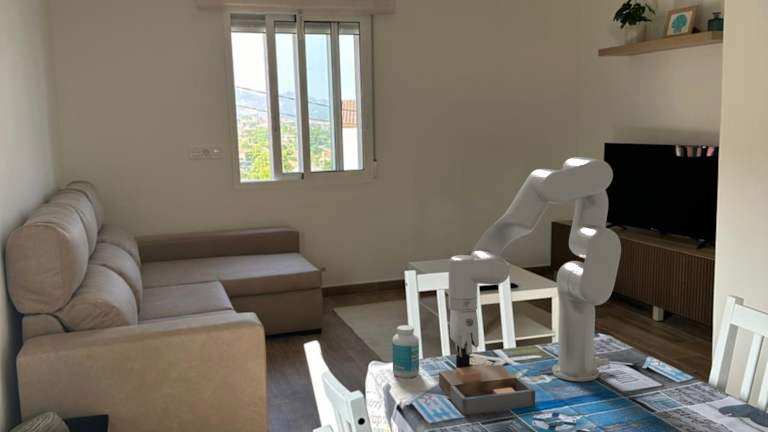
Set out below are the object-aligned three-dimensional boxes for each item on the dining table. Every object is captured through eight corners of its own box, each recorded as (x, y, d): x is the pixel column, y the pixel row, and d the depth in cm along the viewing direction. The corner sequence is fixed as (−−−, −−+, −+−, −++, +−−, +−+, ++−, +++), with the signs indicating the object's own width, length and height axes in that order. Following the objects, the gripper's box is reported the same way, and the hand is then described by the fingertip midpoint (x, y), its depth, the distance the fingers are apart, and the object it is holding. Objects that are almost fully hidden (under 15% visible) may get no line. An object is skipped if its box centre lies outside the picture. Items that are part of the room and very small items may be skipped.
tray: (519, 392, 181) (519, 377, 180) (535, 405, 172) (535, 390, 172) (450, 400, 176) (450, 385, 175) (463, 415, 167) (463, 399, 167)
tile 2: (519, 394, 173) (519, 402, 173) (511, 387, 177) (511, 394, 178) (500, 397, 171) (500, 404, 172) (492, 389, 176) (492, 397, 176)
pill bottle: (417, 379, 191) (416, 332, 189) (390, 378, 192) (389, 331, 190) (421, 369, 198) (420, 324, 196) (395, 368, 199) (394, 323, 197)
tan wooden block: (501, 378, 190) (501, 364, 190) (517, 392, 181) (517, 377, 180) (439, 385, 186) (439, 371, 185) (452, 400, 176) (451, 385, 176)
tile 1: (473, 373, 184) (473, 366, 183) (480, 380, 179) (480, 372, 178) (456, 375, 182) (456, 368, 182) (462, 382, 178) (462, 374, 177)
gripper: (487, 309, 175) (486, 378, 178) (466, 294, 190) (466, 358, 192) (459, 311, 174) (459, 381, 176) (440, 296, 188) (440, 361, 191)
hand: (462, 369), depth 184 cm, fingers closed
